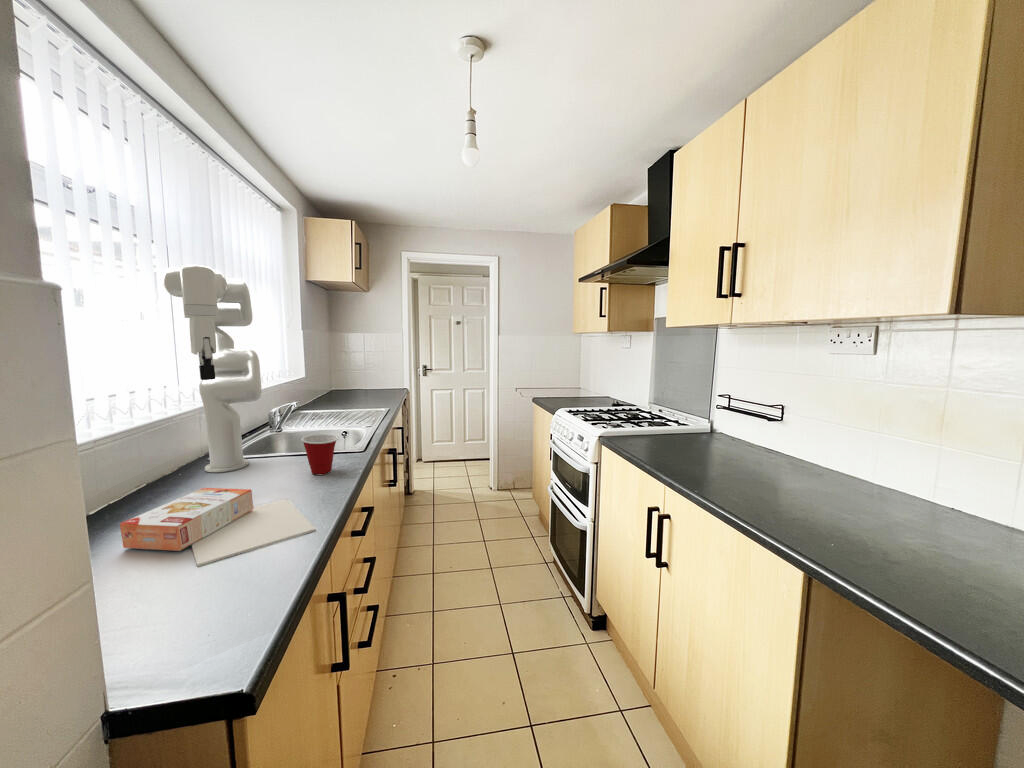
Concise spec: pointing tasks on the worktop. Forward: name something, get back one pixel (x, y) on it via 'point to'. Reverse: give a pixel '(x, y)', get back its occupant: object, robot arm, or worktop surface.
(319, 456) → the plastic cup
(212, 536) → the mat
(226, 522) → the cracker box
